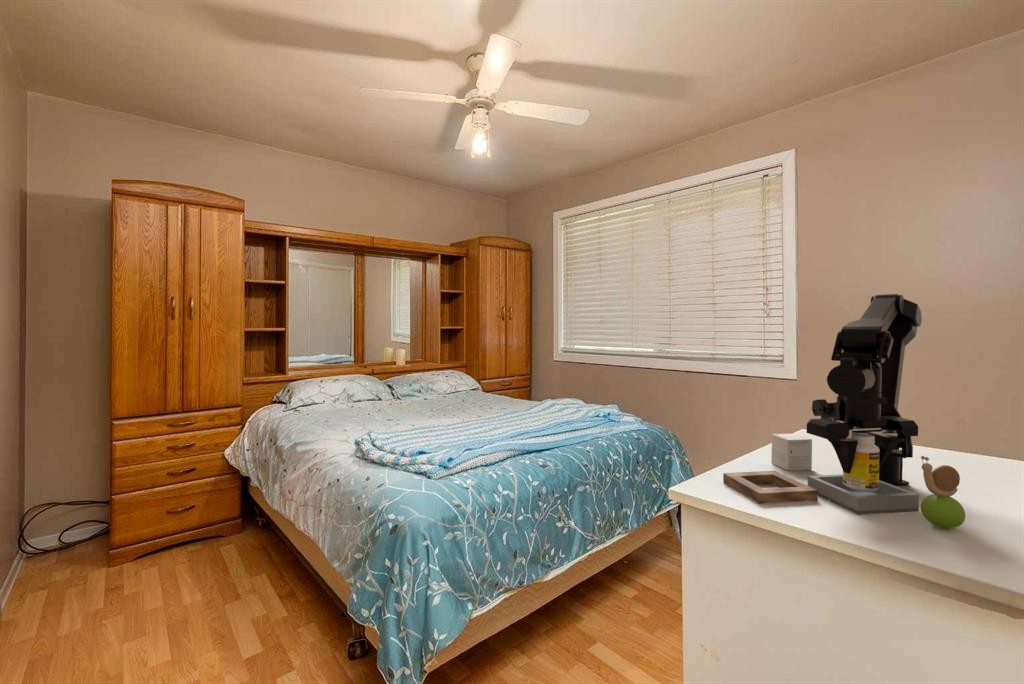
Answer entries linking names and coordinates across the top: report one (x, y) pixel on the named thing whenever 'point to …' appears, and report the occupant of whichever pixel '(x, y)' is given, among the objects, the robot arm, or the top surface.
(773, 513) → the top surface
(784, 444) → the product box
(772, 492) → the wooden rectangular frame
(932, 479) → the snail figurine
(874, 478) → the supplement bottle
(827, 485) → the parts tray
